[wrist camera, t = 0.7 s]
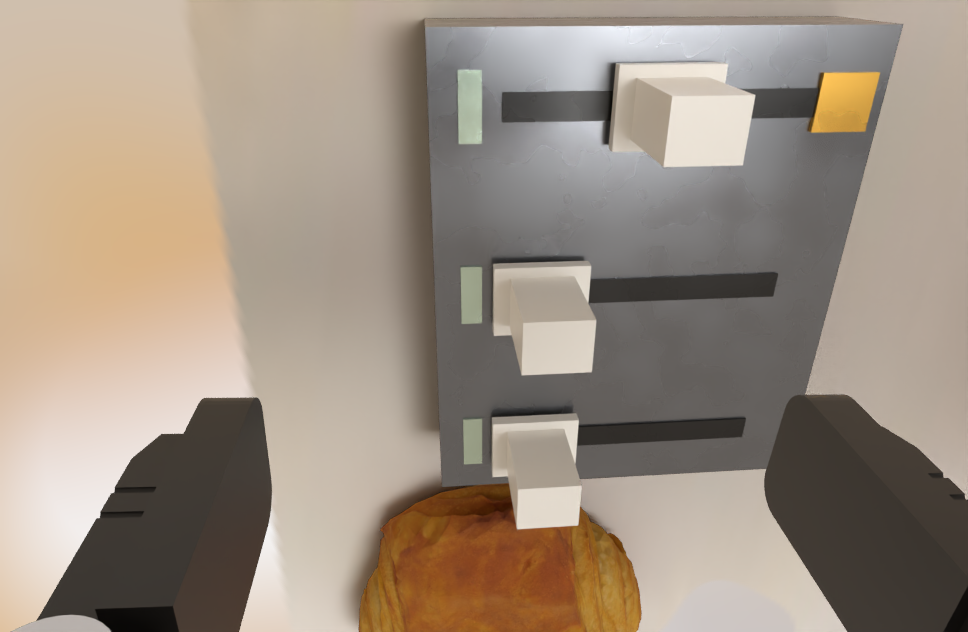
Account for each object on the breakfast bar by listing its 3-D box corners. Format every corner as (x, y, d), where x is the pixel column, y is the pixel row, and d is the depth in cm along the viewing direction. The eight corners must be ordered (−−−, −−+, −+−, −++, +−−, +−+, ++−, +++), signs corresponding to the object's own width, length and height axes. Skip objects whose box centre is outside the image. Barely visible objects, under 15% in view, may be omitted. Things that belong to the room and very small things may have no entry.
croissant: (602, 605, 44) (656, 726, 37) (363, 656, 41) (374, 798, 34) (622, 432, 37) (694, 542, 30) (335, 477, 34) (342, 611, 27)
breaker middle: (588, 260, 25) (615, 308, 22) (583, 326, 27) (608, 381, 23) (493, 263, 25) (504, 312, 21) (492, 329, 26) (503, 386, 23)
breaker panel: (837, 16, 26) (907, 24, 22) (748, 416, 35) (787, 470, 31) (424, 18, 25) (425, 27, 21) (439, 432, 34) (442, 489, 30)
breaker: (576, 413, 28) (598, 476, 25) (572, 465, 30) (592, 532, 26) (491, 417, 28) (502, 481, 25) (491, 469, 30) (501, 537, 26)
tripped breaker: (722, 61, 22) (778, 80, 19) (709, 146, 24) (759, 178, 20) (615, 62, 22) (653, 81, 19) (608, 148, 23) (641, 181, 20)
